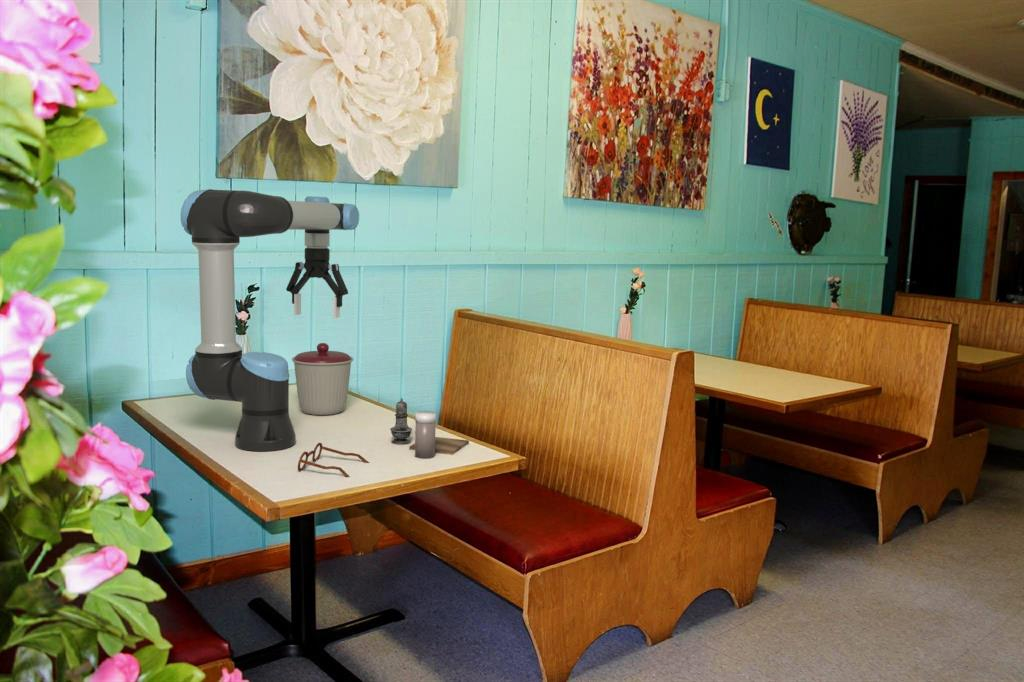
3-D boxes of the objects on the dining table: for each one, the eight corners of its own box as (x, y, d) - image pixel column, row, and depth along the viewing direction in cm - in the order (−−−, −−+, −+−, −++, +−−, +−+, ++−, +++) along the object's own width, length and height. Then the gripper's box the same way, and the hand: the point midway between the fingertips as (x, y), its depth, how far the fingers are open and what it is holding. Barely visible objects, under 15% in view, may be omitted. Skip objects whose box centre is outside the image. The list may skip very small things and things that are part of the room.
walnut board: (452, 454, 226) (452, 451, 226) (409, 449, 230) (409, 446, 229) (468, 443, 238) (468, 440, 237) (427, 438, 241) (427, 435, 241)
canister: (358, 406, 278) (358, 339, 275) (346, 419, 260) (346, 348, 257) (300, 404, 278) (300, 337, 275) (284, 417, 260) (284, 346, 257)
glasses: (318, 460, 219) (318, 440, 218) (369, 464, 217) (369, 444, 216) (296, 475, 206) (296, 454, 206) (349, 479, 204) (349, 458, 203)
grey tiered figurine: (401, 438, 241) (402, 394, 239) (416, 442, 237) (417, 398, 235) (385, 442, 236) (385, 397, 235) (400, 446, 233) (401, 401, 231)
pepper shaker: (430, 459, 221) (431, 416, 219) (411, 457, 222) (412, 414, 221) (438, 454, 226) (439, 412, 224) (419, 452, 227) (420, 410, 226)
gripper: (359, 248, 273) (358, 317, 276) (288, 245, 280) (288, 312, 283) (347, 249, 266) (347, 319, 269) (274, 245, 273) (275, 314, 276)
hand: (316, 316), depth 276 cm, fingers open, 13 cm apart
